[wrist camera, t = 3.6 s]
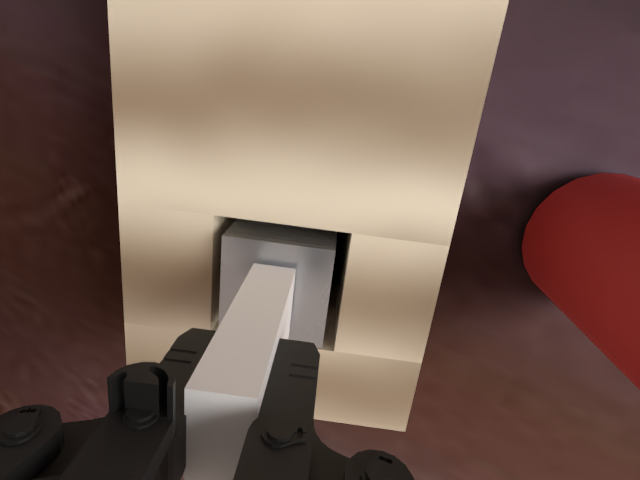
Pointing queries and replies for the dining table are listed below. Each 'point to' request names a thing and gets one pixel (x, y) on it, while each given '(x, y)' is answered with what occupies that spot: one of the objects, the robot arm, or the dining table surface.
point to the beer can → (592, 261)
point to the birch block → (299, 165)
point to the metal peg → (284, 251)
